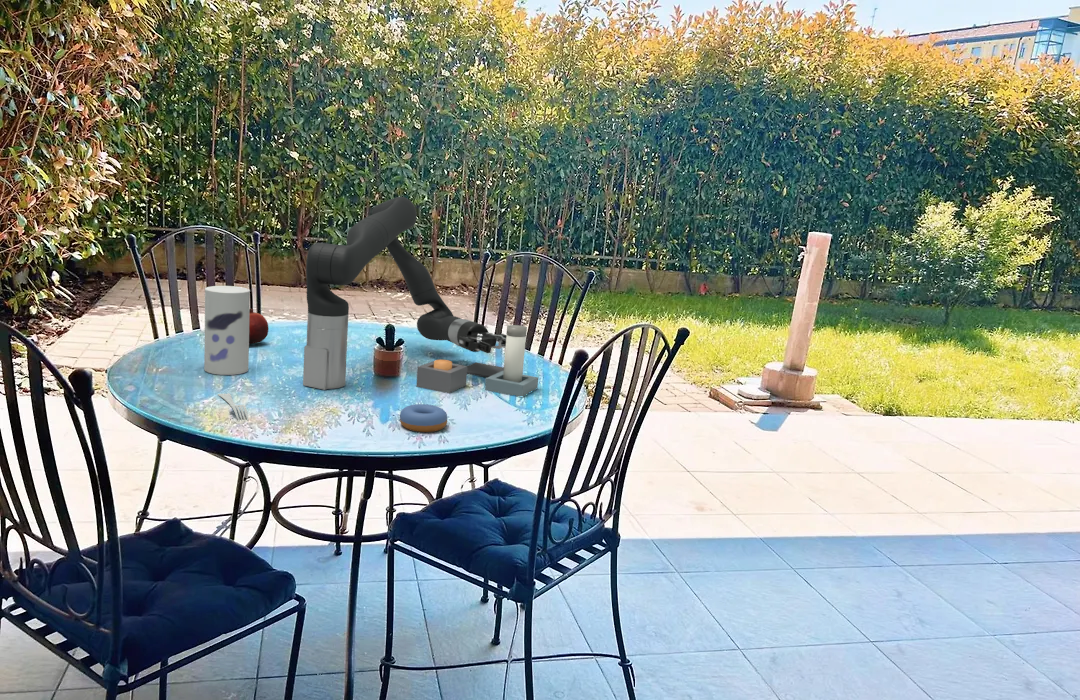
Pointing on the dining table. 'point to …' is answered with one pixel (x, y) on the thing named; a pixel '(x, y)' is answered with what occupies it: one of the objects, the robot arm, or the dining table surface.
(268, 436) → the dining table surface
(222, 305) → the container
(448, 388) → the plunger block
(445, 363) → the plunger
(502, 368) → the mat
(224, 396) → the fork
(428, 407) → the doughnut
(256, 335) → the fruit
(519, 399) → the dining table surface
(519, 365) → the cylinder
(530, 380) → the housing
